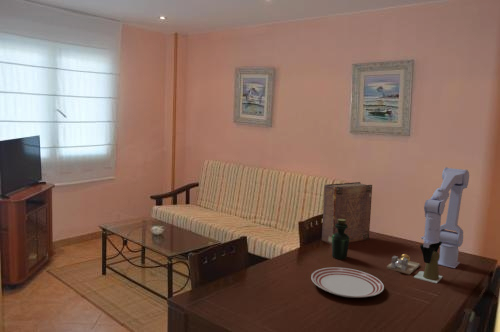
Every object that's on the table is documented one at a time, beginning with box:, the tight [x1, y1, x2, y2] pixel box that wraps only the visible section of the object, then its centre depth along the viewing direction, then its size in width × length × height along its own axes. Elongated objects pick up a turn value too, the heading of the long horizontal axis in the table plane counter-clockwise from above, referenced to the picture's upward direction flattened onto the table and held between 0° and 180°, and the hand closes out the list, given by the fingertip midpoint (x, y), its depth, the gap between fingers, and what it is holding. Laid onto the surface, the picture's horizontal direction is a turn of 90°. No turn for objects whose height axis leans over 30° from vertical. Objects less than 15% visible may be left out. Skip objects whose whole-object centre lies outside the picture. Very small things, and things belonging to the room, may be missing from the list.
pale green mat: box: [413, 270, 443, 284], centre depth 176 cm, size 9×9×1 cm
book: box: [321, 181, 373, 245], centre depth 224 cm, size 25×9×30 cm, turn 120°
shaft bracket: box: [386, 255, 421, 275], centre depth 187 cm, size 14×10×6 cm
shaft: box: [394, 253, 411, 267], centre depth 184 cm, size 11×4×4 cm, turn 142°
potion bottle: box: [331, 219, 350, 260], centre depth 197 cm, size 8×8×18 cm
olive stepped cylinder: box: [423, 251, 440, 280], centre depth 175 cm, size 6×6×11 cm
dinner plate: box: [310, 267, 385, 299], centre depth 163 cm, size 27×27×3 cm
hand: (429, 260), depth 175 cm, fingers open, 7 cm apart
